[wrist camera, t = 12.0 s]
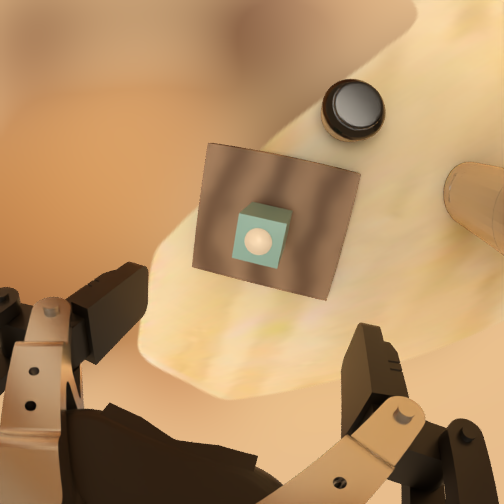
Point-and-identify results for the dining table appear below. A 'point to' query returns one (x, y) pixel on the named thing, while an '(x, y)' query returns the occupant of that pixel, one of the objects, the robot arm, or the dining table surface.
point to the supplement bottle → (352, 110)
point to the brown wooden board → (282, 196)
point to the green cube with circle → (261, 234)
